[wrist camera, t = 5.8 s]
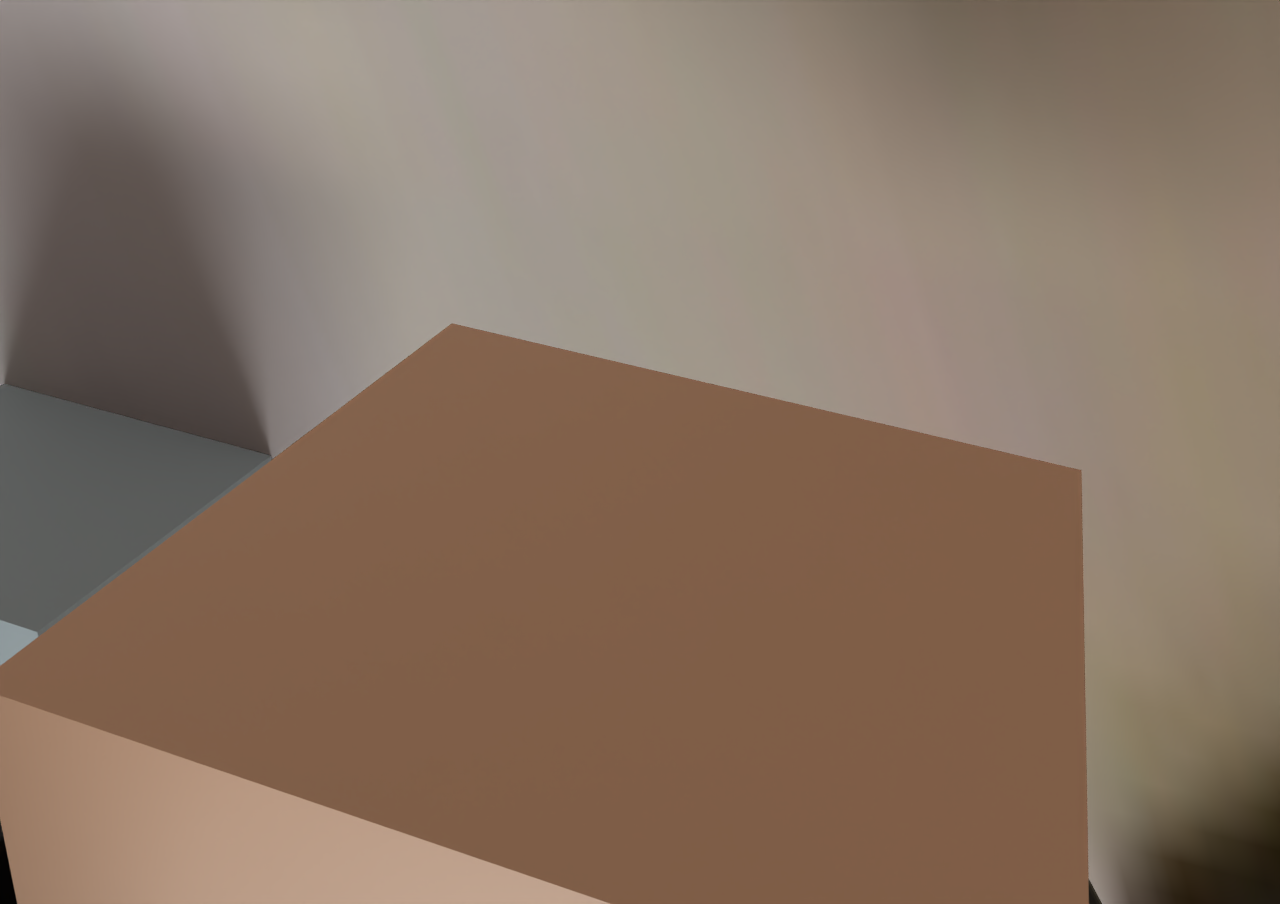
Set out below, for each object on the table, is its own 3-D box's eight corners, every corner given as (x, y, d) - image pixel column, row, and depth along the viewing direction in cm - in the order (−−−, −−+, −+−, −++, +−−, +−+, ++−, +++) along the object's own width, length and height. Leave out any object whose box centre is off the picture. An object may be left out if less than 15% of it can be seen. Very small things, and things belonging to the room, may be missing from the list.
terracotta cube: (1080, 469, 9) (1091, 1067, 4) (927, 940, 11) (839, 1624, 7) (451, 323, 10) (-26, 686, 6) (436, 779, 12) (93, 1279, 8)
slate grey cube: (274, 453, 19) (37, 632, 14) (285, 702, 21) (85, 918, 17) (7, 382, 20) (-285, 527, 15) (48, 625, 22) (-198, 810, 18)
